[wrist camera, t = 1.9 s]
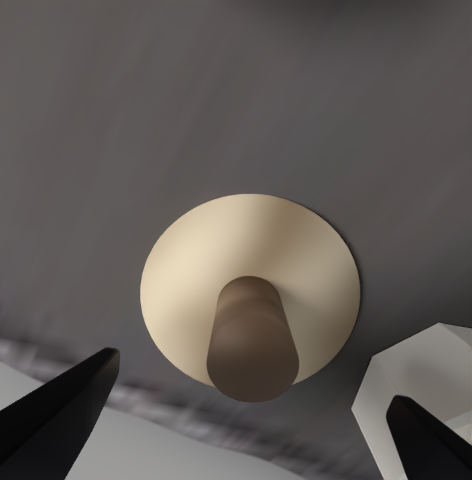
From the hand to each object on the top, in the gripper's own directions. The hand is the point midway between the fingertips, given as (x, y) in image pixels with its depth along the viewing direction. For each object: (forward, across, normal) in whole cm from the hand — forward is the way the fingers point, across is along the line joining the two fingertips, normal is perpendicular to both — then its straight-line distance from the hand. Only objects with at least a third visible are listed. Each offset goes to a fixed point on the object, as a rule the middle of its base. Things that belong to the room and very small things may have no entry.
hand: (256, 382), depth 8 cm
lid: (+5, 0, 0) cm, 5 cm away
